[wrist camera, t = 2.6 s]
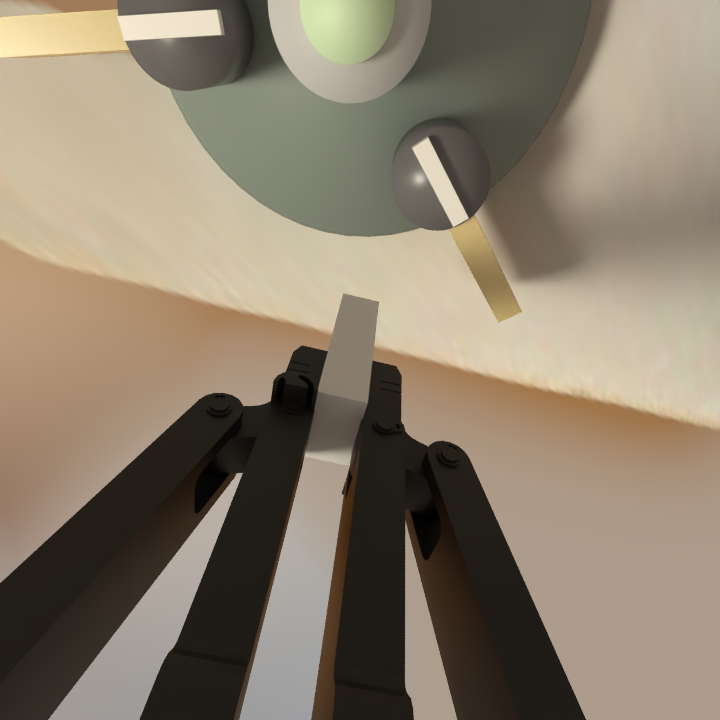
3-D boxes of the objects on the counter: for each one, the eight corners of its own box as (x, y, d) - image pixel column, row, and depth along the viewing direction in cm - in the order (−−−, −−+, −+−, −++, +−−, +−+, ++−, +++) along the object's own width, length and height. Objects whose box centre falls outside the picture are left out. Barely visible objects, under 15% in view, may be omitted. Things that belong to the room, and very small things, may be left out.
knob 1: (243, -38, 17) (211, -56, 14) (261, 83, 20) (236, 89, 17) (15, -20, 18) (-59, -35, 15) (57, 94, 20) (-1, 101, 17)
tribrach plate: (119, 120, 22) (12, 146, 16) (228, -518, 13) (67, -1054, 6) (428, 284, 26) (438, 355, 20) (694, -112, 16) (871, -210, 10)
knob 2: (376, 151, 21) (373, 167, 18) (455, 98, 19) (465, 106, 16) (465, 307, 25) (474, 342, 22) (535, 273, 24) (554, 305, 21)
